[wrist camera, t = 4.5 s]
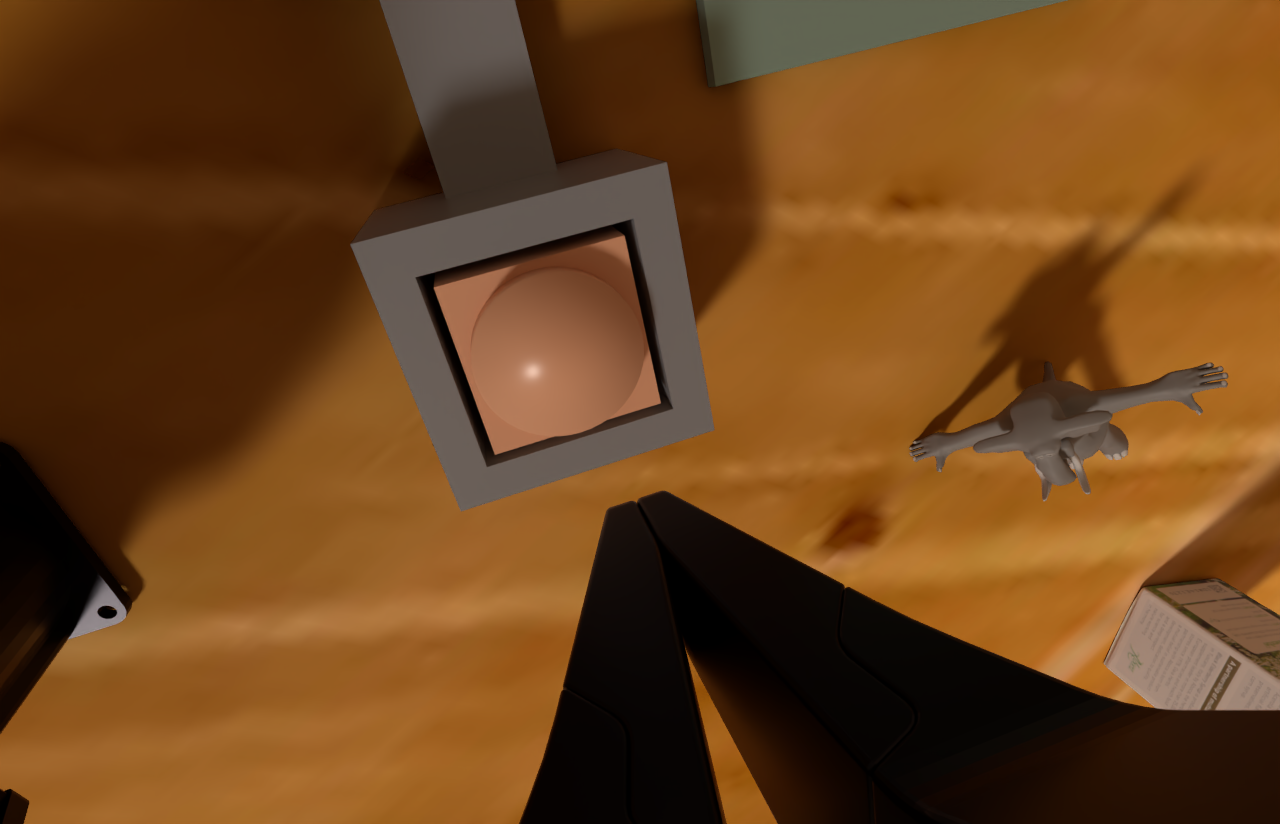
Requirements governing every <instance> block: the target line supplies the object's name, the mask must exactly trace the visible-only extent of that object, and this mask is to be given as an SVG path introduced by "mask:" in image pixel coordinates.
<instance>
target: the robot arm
mask: <svg viewBox="0 0 1280 824" xmlns="http://www.w3.org/2000/svg"><path fill="white" fill-rule="evenodd" d="M0 464H1V466H0V734H1V733H2V731H3V730H4V728H5V727H6V726H7V724H8V723H9V721H10V720H11V719H12V717H13V716H14V714H15V713H16V712H17V710H18V709H19V707H20V706H21V705H22V703H23V702H24V700H25V699H26V697H27V696H28V695H29V693H30V692H31V690H32V689H33V688H34V686H35V685H36V683H37V682H38V681H39V679H40V678H41V676H42V675H43V674H44V672H45V671H46V669H47V668H48V667H49V665H50V664H51V662H52V661H53V660H54V658H55V657H56V655H57V654H58V653H59V651H60V650H61V648H62V647H63V646H64V644H65V643H66V641H67V640H68V639H71V638H74V637H77V636H80V635H84V634H87V633H90V632H93V631H96V630H99V629H102V628H105V627H108V626H112V625H115V624H117V623H119V622H121V621H123V620H124V618H125V617H126V616H127V614H128V613H129V611H130V609H131V607H132V602H131V600H130V598H129V596H128V595H127V594H126V593H125V591H124V590H123V589H122V587H121V586H120V585H119V583H118V582H117V581H116V580H115V578H114V577H113V576H112V574H111V573H110V572H109V570H108V569H107V568H106V566H105V565H104V564H103V563H102V561H101V560H100V559H99V557H98V556H97V555H96V553H95V552H94V551H93V550H92V548H91V547H90V546H89V544H88V543H87V542H86V540H85V539H84V538H83V536H82V535H81V534H80V533H79V531H78V530H77V529H76V527H75V526H74V525H73V523H72V522H71V521H70V520H69V518H68V517H67V516H66V514H65V513H64V512H63V510H62V509H61V508H60V506H59V505H58V504H57V503H56V501H55V500H54V499H53V497H52V496H51V495H50V493H49V492H48V491H47V490H46V488H45V487H44V486H43V484H42V483H41V482H40V480H39V479H38V478H37V477H36V475H35V474H34V473H33V471H32V470H31V469H30V467H29V466H28V465H27V463H26V462H25V461H24V460H23V458H22V457H21V456H20V454H19V453H18V452H17V451H16V450H15V449H14V448H13V447H12V446H10V445H7V444H5V443H2V442H0ZM104 606H111V607H114V608H115V609H116V610H110V609H107V608H106V607H104ZM685 648H686V650H685ZM686 651H687V653H688V655H689V657H690V659H691V661H692V663H693V665H694V667H695V669H696V671H697V673H698V675H699V677H700V678H701V680H702V682H703V684H704V686H705V688H706V690H707V692H708V693H709V695H710V697H711V699H712V701H713V703H714V705H715V707H716V708H717V710H718V712H719V714H720V716H721V718H722V720H723V722H724V723H725V725H726V727H727V729H728V731H729V733H730V735H731V737H732V738H733V740H734V742H735V744H736V746H737V748H738V750H739V752H740V753H741V755H742V757H743V759H744V761H745V763H746V765H747V767H748V769H749V770H750V772H751V774H752V776H753V778H754V780H755V782H756V784H757V785H758V787H759V789H760V791H761V793H762V795H763V797H764V799H765V800H766V802H767V804H768V806H769V808H770V810H771V812H772V814H773V815H774V817H775V819H776V821H777V823H778V824H1280V710H1169V709H1159V708H1150V707H1144V706H1139V705H1134V704H1129V703H1124V702H1121V701H1117V700H1114V699H1110V698H1107V697H1104V696H1100V695H1097V694H1095V693H1092V692H1089V691H1087V690H1084V689H1081V688H1078V687H1076V686H1073V685H1071V684H1068V683H1066V682H1064V681H1061V680H1059V679H1056V678H1054V677H1051V676H1049V675H1046V674H1044V673H1041V672H1039V671H1036V670H1034V669H1032V668H1029V667H1027V666H1024V665H1022V664H1019V663H1017V662H1014V661H1012V660H1009V659H1007V658H1004V657H1002V656H999V655H997V654H995V653H992V652H990V651H987V650H985V649H982V648H980V647H977V646H975V645H972V644H970V643H967V642H965V641H963V640H960V639H958V638H955V637H953V636H951V635H948V634H946V633H944V632H942V631H939V630H937V629H935V628H932V627H930V626H928V625H925V624H923V623H921V622H918V621H916V620H914V619H912V618H910V617H908V616H905V615H903V614H901V613H899V612H897V611H895V610H893V609H891V608H889V607H887V606H885V605H883V604H881V603H879V602H877V601H875V600H873V599H871V598H869V597H867V596H865V595H863V594H861V593H860V592H858V591H856V590H854V589H852V588H850V587H846V588H845V586H844V585H843V584H842V583H840V582H838V581H836V580H834V579H832V578H831V577H829V576H827V575H825V574H823V573H821V572H819V571H817V570H815V569H813V568H812V567H810V566H808V565H806V564H804V563H802V562H800V561H798V560H796V559H794V558H792V557H791V556H789V555H787V554H785V553H783V552H781V551H779V550H777V549H775V548H773V547H772V546H770V545H768V544H766V543H764V542H762V541H760V540H758V539H756V538H754V537H753V536H751V535H749V534H747V533H745V532H743V531H741V530H739V529H737V528H735V527H733V526H732V525H730V524H728V523H726V522H724V521H722V520H720V519H718V518H716V517H714V516H713V515H711V514H709V513H707V512H705V511H703V510H701V509H699V508H697V507H695V506H694V505H692V504H690V503H688V502H686V501H684V500H682V499H680V498H678V497H676V496H675V495H673V494H671V493H669V492H667V491H659V492H656V493H653V494H650V495H647V496H644V497H641V498H639V499H638V501H637V503H636V502H635V501H629V502H626V503H623V504H620V505H617V506H614V507H610V508H609V509H608V510H607V511H606V514H605V518H604V522H603V526H602V530H601V535H600V539H599V543H598V547H597V551H596V555H595V559H594V563H593V567H592V571H591V575H590V579H589V583H588V587H587V591H586V595H585V599H584V603H583V607H582V611H581V615H580V619H579V623H578V627H577V631H576V635H575V639H574V643H573V647H572V651H571V655H570V659H569V663H568V667H567V671H566V675H565V680H564V684H563V689H564V690H562V691H561V694H560V698H559V702H558V707H557V711H556V715H555V719H554V722H553V726H552V729H551V732H550V736H549V739H548V743H547V746H546V750H545V753H544V757H543V760H542V763H541V766H540V768H539V771H538V774H537V777H536V779H535V782H534V785H533V788H532V790H531V793H530V796H529V799H528V802H527V804H526V807H525V810H524V812H523V815H522V817H521V820H520V822H519V824H727V823H726V819H725V814H724V810H723V806H722V802H721V797H720V793H719V789H718V785H717V780H716V776H715V772H714V768H713V763H712V759H711V755H710V751H709V746H708V742H707V738H706V734H705V729H704V725H703V721H702V717H701V712H700V708H699V704H698V700H697V695H696V691H695V687H694V683H693V678H692V674H691V670H690V666H689V662H688V658H687V654H686ZM28 805H29V800H27V799H26V798H24V797H22V796H21V795H19V794H18V793H16V792H15V791H13V790H11V789H8V790H5V791H3V790H2V789H0V824H24V820H25V816H26V813H27V809H28Z"/></svg>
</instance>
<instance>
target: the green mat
mask: <svg viewBox="0 0 1280 824" xmlns="http://www.w3.org/2000/svg"><path fill="white" fill-rule="evenodd" d="M1062 1H1066V0H696V4H697V11H698V18H699V25H700V32H701V39H702V46H703V53H704V60H705V67H706V74H707V81H708V87H716V86H720V85H724V84H728V83H732V82H736V81H740V80H745V79H749V78H753V77H757V76H761V75H765V74H769V73H773V72H777V71H781V70H785V69H789V68H793V67H797V66H802V65H806V64H810V63H814V62H818V61H822V60H826V59H830V58H834V57H838V56H842V55H846V54H850V53H854V52H859V51H863V50H867V49H871V48H875V47H879V46H883V45H887V44H891V43H895V42H899V41H903V40H907V39H911V38H916V37H920V36H924V35H928V34H932V33H936V32H940V31H944V30H948V29H952V28H956V27H960V26H964V25H969V24H973V23H977V22H981V21H985V20H989V19H993V18H997V17H1001V16H1005V15H1009V14H1013V13H1017V12H1021V11H1026V10H1030V9H1034V8H1038V7H1042V6H1046V5H1050V4H1054V3H1058V2H1062Z"/></svg>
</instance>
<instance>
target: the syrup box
mask: <svg viewBox="0 0 1280 824" xmlns="http://www.w3.org/2000/svg"><path fill="white" fill-rule="evenodd" d="M1104 664H1105V665H1106V667H1107V668H1108V669H1109V670H1111V671H1112V672H1113V673H1114V674H1115V675H1117V676H1118V677H1119V678H1120V679H1121V680H1122V681H1124V682H1125V683H1126V684H1127V685H1129V686H1130V687H1131V688H1132V689H1134V690H1135V691H1136V692H1137V693H1138V694H1140V695H1141V696H1142V697H1143V698H1144V699H1145V700H1147V701H1148V702H1149V703H1150V704H1151V705H1153V706H1154V707H1155V708H1159V709H1169V710H1280V615H1278V614H1277V613H1275V612H1273V611H1272V610H1270V609H1268V608H1267V607H1265V606H1263V605H1261V604H1260V603H1258V602H1256V601H1255V600H1253V599H1252V598H1250V597H1248V596H1247V595H1245V594H1244V593H1242V592H1240V591H1239V590H1237V589H1235V588H1234V587H1232V586H1230V585H1228V584H1227V583H1225V582H1224V581H1222V580H1220V579H1218V578H1215V579H1206V580H1199V581H1190V582H1182V583H1173V584H1165V585H1156V586H1149V587H1143V588H1142V589H1141V591H1140V592H1139V594H1138V595H1137V597H1136V599H1135V600H1134V602H1133V604H1132V605H1131V607H1130V609H1129V611H1128V613H1127V615H1126V617H1125V619H1124V621H1123V623H1122V624H1121V627H1120V629H1119V631H1118V633H1117V635H1116V637H1115V640H1114V642H1113V644H1112V646H1111V648H1110V650H1109V653H1108V655H1107V657H1106V660H1105V661H1104Z"/></svg>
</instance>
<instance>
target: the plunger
mask: <svg viewBox="0 0 1280 824" xmlns="http://www.w3.org/2000/svg"><path fill="white" fill-rule="evenodd" d="M434 290H435V292H436V295H437V298H438V301H439V303H440V306H441V309H442V311H443V314H444V317H445V320H446V322H447V325H448V328H449V331H450V333H451V336H452V339H453V342H454V344H455V347H456V350H457V352H458V355H459V358H460V361H461V363H462V366H463V369H464V372H465V374H466V377H467V380H468V382H469V385H470V388H471V391H472V393H473V396H474V399H475V402H476V404H477V407H478V410H479V413H480V415H481V418H482V421H483V423H484V426H485V429H486V432H487V434H488V437H489V440H490V443H491V445H492V448H493V451H494V453H495V455H496V454H499V453H503V452H506V451H509V450H512V449H516V448H519V447H522V446H525V445H528V444H532V443H535V442H538V441H541V440H544V439H548V438H551V437H554V436H566V435H573V434H577V433H581V432H584V431H586V430H589V429H592V428H594V427H595V426H597V425H599V424H601V423H603V422H604V421H606V420H609V419H612V418H615V417H618V416H622V415H625V414H628V413H631V412H634V411H638V410H641V409H644V408H647V407H650V406H654V405H657V404H660V403H661V401H660V397H659V392H658V388H657V383H656V378H655V374H654V369H653V365H652V360H651V355H650V351H649V346H648V342H647V337H646V332H645V328H644V323H643V319H642V314H641V309H640V305H639V300H638V295H637V291H636V286H635V282H634V277H633V272H632V268H631V263H630V259H629V254H628V249H627V245H626V240H625V236H624V235H623V234H622V233H621V232H619V231H618V230H617V229H615V228H614V227H613V226H611V225H608V226H604V227H600V228H597V229H593V230H589V231H586V232H582V233H578V234H575V235H571V236H567V237H563V238H560V239H556V240H552V241H549V242H545V243H541V244H537V245H534V246H530V247H526V248H523V249H519V250H515V251H511V252H508V253H504V254H500V255H497V256H493V257H489V258H486V259H482V260H478V261H474V262H471V263H467V264H463V265H460V266H456V267H452V268H448V269H445V270H441V271H437V272H435V279H434Z"/></svg>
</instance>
